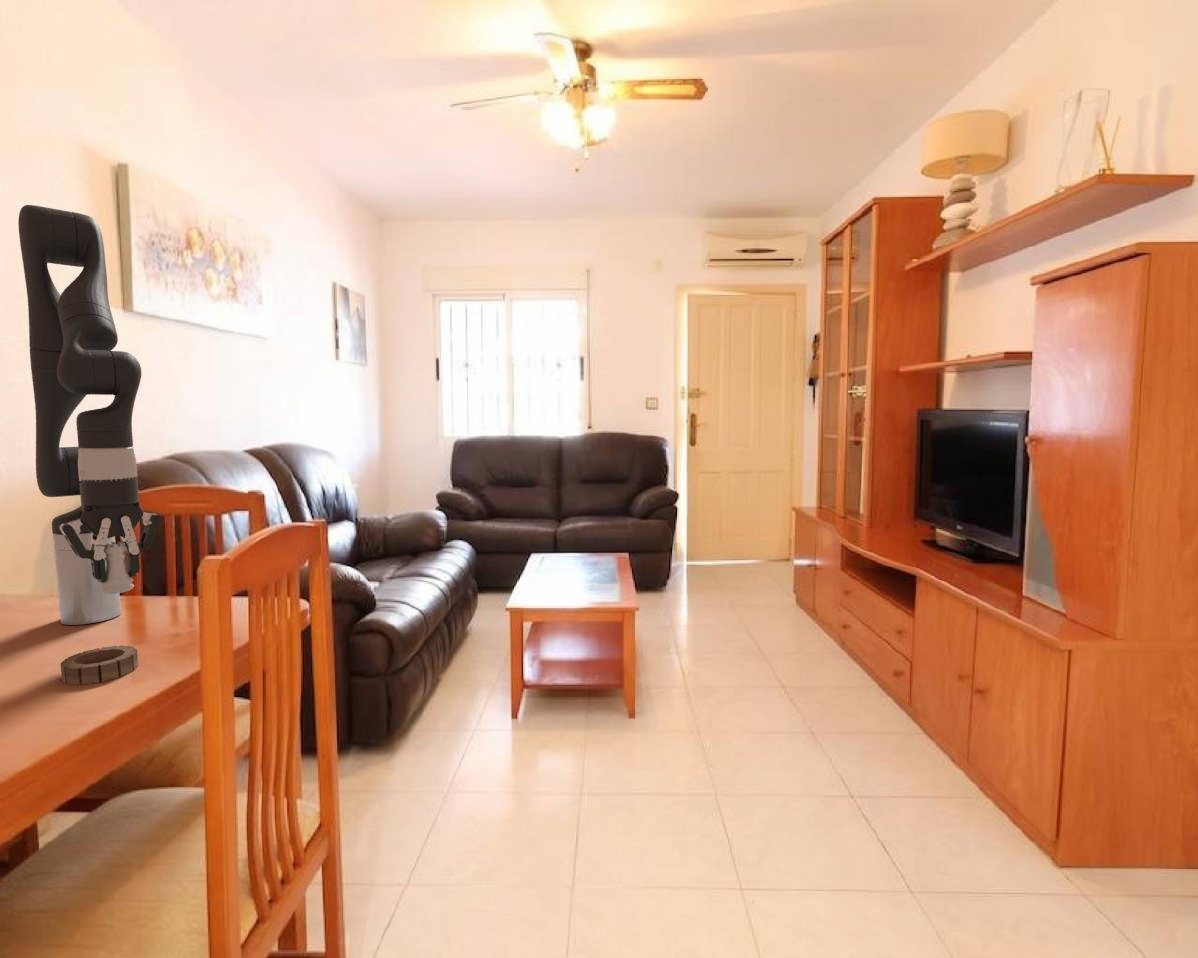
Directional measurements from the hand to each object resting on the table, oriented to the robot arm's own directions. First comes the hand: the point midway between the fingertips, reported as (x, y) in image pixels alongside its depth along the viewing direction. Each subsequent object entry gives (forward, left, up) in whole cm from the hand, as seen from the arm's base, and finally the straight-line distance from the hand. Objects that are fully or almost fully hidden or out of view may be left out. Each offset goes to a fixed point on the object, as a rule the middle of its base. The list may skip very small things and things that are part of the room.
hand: (116, 578), depth 106 cm
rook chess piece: (0, 0, -2) cm, 2 cm away
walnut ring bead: (+8, -5, -12) cm, 16 cm away
